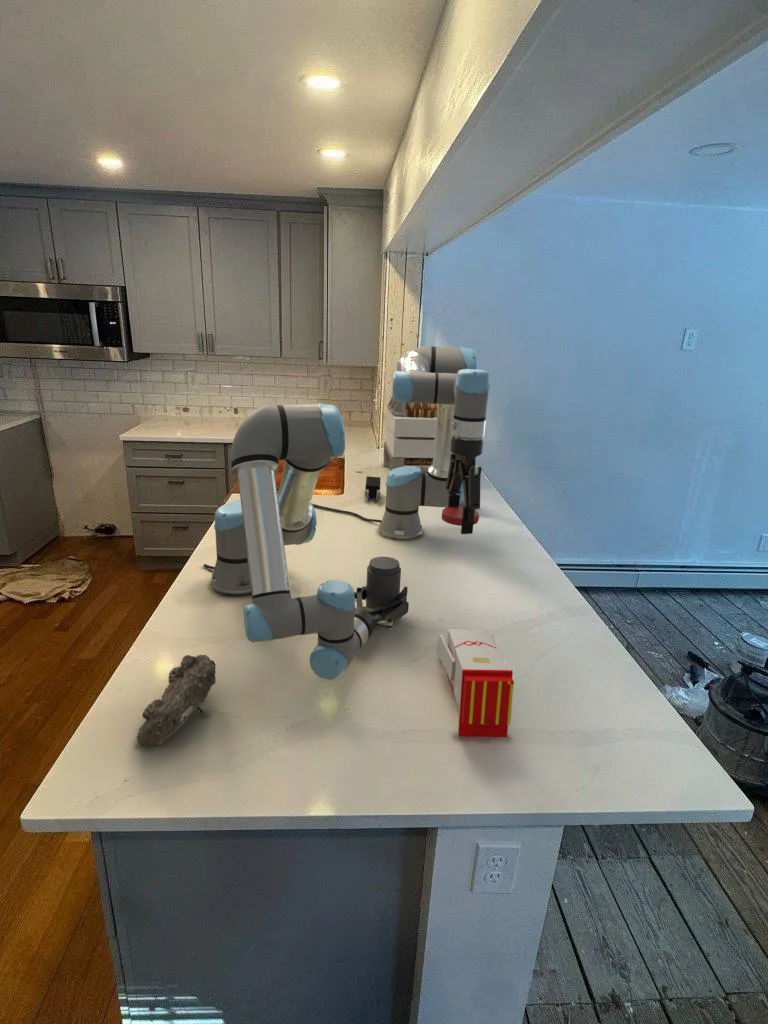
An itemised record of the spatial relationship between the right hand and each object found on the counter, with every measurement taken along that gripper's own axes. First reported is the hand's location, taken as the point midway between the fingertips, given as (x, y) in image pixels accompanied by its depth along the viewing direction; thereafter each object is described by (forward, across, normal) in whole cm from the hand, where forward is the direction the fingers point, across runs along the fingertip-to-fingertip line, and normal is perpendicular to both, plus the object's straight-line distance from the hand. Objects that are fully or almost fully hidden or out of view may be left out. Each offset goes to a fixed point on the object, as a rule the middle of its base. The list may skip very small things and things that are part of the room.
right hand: (459, 526), depth 141 cm
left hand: (+18, -5, -16) cm, 25 cm away
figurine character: (+24, -95, +1) cm, 98 cm away
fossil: (+25, +27, -65) cm, 74 cm away
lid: (-3, 0, 0) cm, 3 cm away
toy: (+25, +32, -8) cm, 41 cm away
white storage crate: (+24, -130, +33) cm, 136 cm away
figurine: (+24, -78, +36) cm, 89 cm away
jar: (+24, -1, -19) cm, 31 cm away
